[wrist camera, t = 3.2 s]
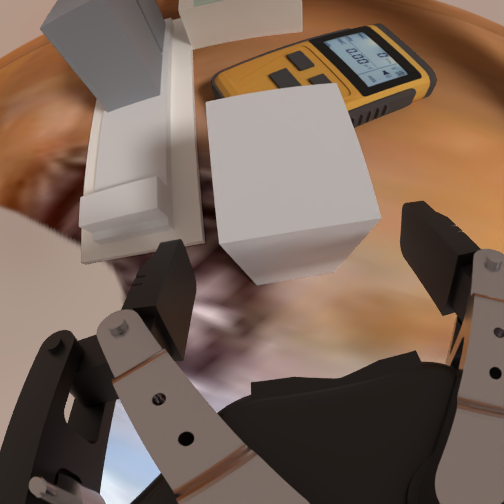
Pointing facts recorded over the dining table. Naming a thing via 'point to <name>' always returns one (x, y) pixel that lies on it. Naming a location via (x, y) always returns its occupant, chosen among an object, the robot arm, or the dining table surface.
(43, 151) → the dining table surface
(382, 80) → the electronic device
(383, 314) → the dining table surface
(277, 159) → the block
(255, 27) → the block
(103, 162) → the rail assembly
